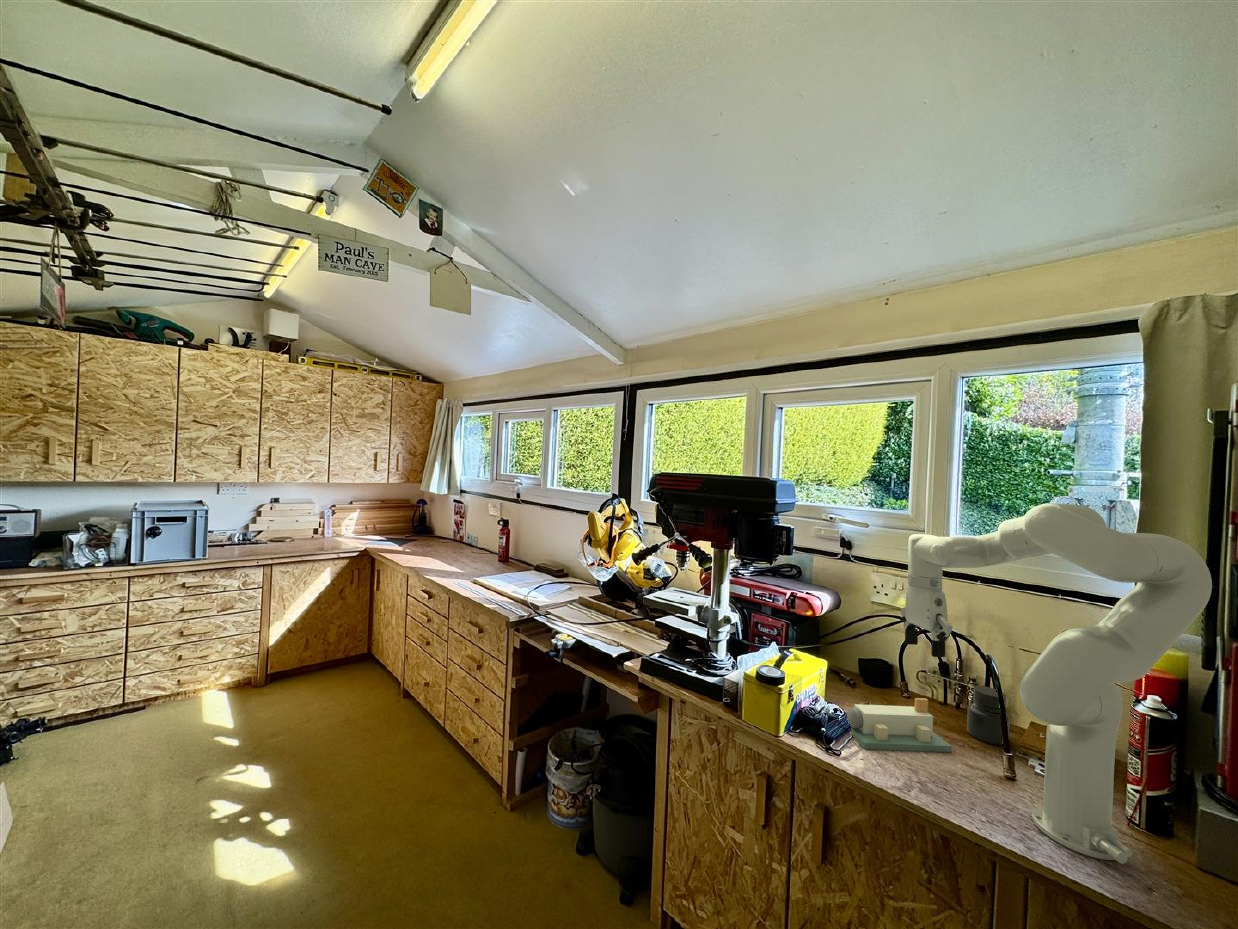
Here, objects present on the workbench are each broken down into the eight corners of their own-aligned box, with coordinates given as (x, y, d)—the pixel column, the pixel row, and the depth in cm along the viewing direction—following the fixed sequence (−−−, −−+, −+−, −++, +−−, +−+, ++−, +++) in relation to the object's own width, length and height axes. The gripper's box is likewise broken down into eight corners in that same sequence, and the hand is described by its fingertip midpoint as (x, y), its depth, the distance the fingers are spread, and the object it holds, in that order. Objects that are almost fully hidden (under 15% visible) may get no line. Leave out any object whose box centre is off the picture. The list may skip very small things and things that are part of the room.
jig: (951, 752, 119) (952, 733, 119) (864, 749, 118) (865, 730, 118) (914, 722, 133) (914, 706, 133) (836, 719, 132) (836, 703, 132)
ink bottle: (1019, 745, 124) (1021, 698, 125) (995, 749, 121) (998, 701, 122) (979, 725, 133) (981, 682, 134) (957, 729, 131) (959, 685, 131)
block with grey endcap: (932, 736, 123) (933, 703, 123) (856, 733, 122) (857, 700, 122) (919, 725, 128) (920, 694, 128) (845, 723, 127) (847, 691, 127)
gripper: (965, 590, 116) (964, 662, 115) (915, 577, 133) (914, 640, 132) (935, 589, 115) (935, 662, 114) (889, 576, 133) (888, 639, 132)
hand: (924, 650), depth 123 cm, fingers open, 9 cm apart
